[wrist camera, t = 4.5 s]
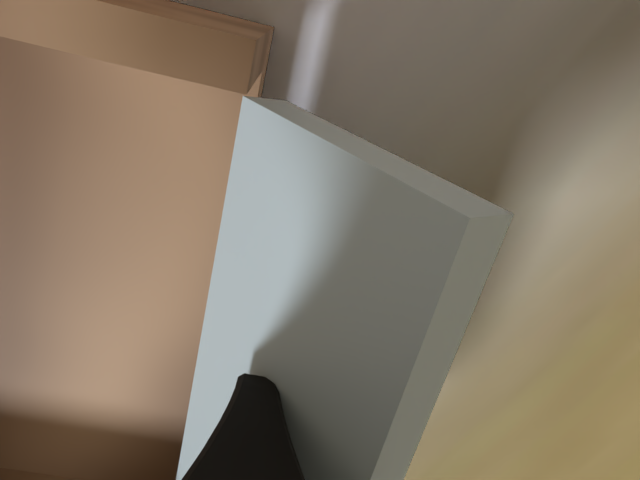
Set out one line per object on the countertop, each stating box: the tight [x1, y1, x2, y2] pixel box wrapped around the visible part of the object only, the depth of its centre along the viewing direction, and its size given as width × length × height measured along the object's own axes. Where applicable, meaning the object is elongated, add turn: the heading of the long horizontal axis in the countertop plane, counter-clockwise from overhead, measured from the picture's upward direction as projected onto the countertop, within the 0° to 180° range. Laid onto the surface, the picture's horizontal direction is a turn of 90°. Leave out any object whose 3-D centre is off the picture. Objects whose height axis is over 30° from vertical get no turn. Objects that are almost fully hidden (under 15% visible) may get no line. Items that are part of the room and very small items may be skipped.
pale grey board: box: [176, 96, 514, 480], centre depth 11 cm, size 2×12×6 cm
